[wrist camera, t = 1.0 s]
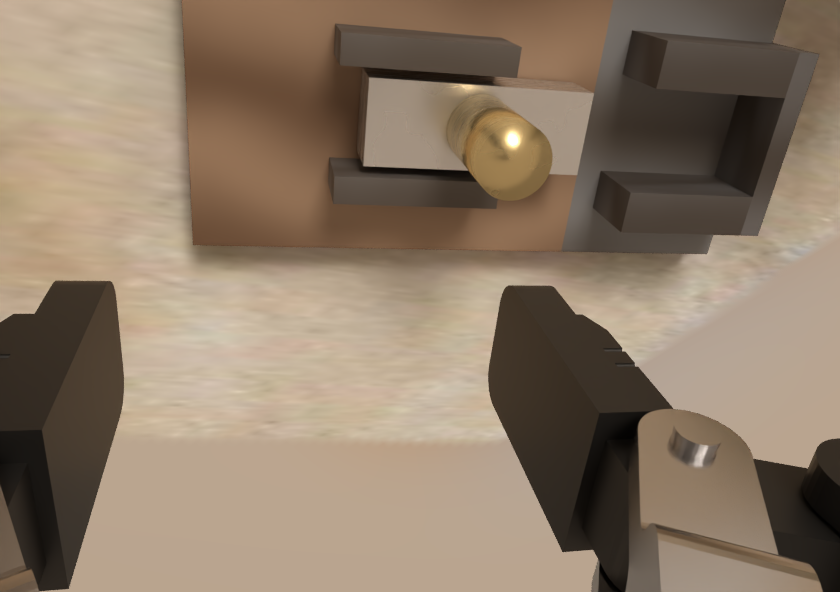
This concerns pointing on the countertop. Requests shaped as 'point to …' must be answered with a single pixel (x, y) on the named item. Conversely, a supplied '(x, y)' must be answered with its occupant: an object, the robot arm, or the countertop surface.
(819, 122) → the countertop surface
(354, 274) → the countertop surface
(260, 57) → the door board
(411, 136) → the lock bolt
